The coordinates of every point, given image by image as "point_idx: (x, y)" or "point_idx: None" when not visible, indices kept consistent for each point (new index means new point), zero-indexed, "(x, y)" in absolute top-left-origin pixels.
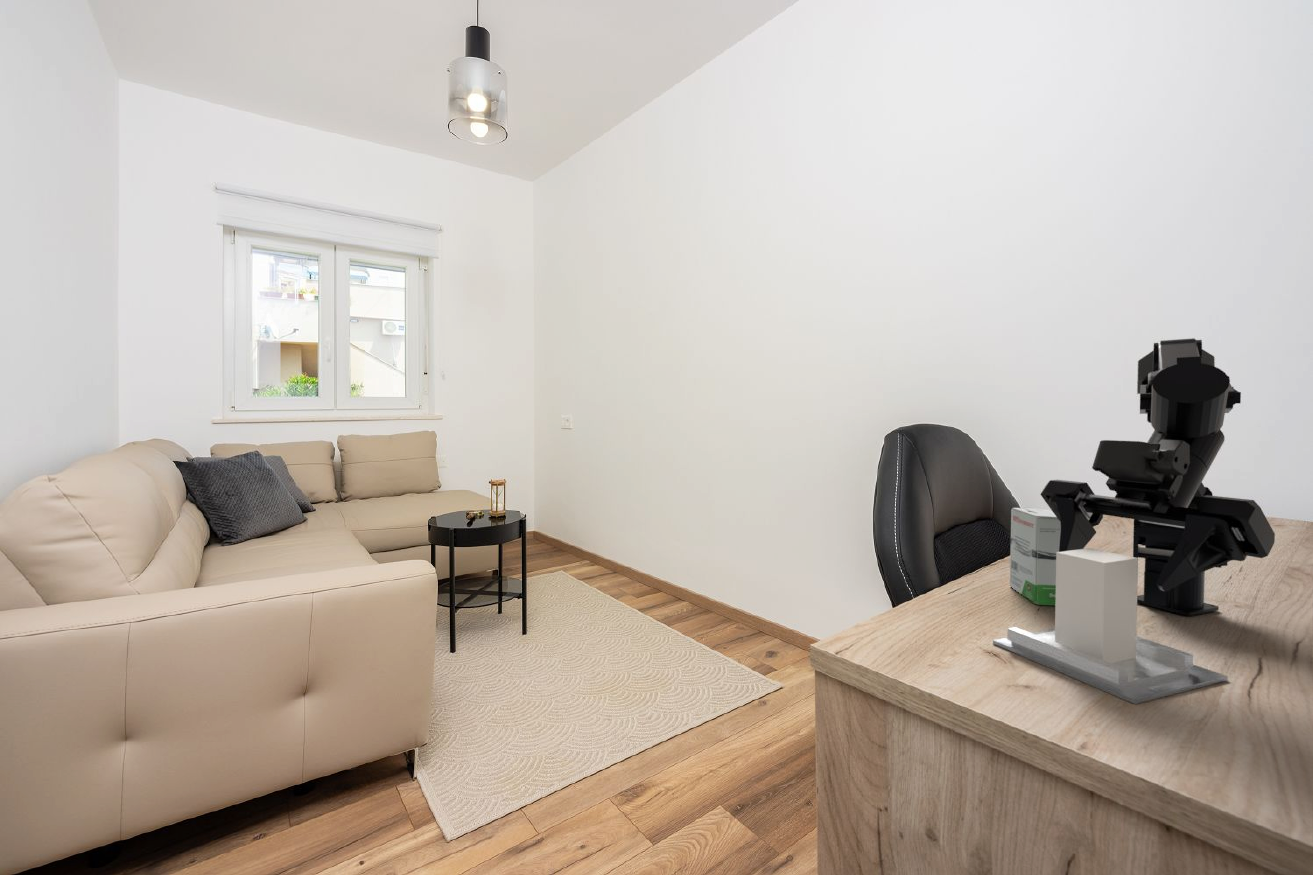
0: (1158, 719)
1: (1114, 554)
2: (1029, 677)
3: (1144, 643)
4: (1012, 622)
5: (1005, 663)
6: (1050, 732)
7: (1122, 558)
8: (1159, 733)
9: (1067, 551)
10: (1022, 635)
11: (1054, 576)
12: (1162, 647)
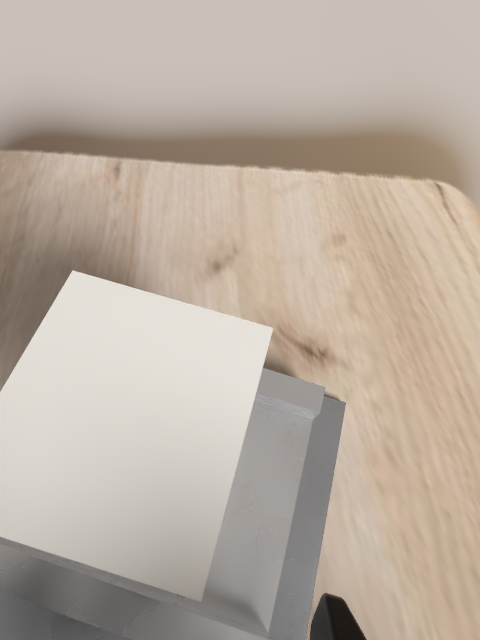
0: (47, 294)
1: (49, 505)
2: (227, 301)
3: (61, 567)
4: (409, 626)
5: (278, 327)
6: (152, 175)
7: (7, 422)
8: (45, 254)
9: (248, 387)
10: (286, 375)
11: None
12: (18, 569)
